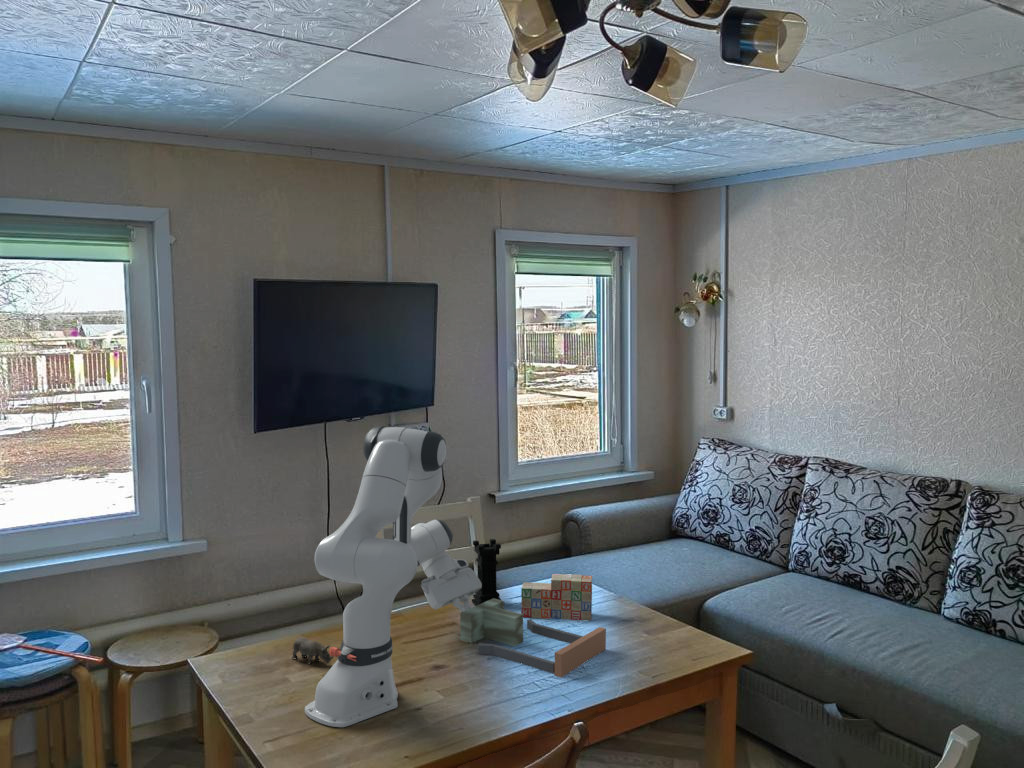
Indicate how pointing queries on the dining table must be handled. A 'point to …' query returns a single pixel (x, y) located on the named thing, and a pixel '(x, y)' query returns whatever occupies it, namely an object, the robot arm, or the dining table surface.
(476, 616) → the T block
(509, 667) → the dining table surface
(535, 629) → the bay
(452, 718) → the dining table surface
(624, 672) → the dining table surface
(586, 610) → the stack of blocks
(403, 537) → the robot arm
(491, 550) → the chess piece
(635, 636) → the dining table surface
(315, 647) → the rhino figurine
